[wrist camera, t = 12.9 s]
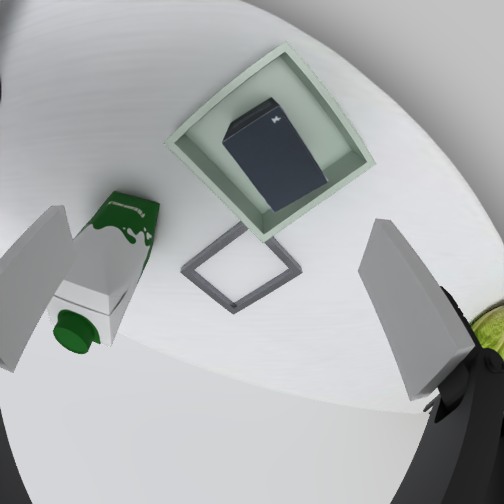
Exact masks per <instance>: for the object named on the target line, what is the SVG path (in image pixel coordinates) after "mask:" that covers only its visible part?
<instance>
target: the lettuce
mask: <svg viewBox="0 0 504 504" xmlns="http://www.w3.org/2000/svg"><path fill="white" fill-rule="evenodd" d="M471 328H472V330H473V331H474V333H475V335H476V337H477V338H478V340H479V342H480V344H481V346H482V347H483V348H491V349H494V350H495V351H496V352H498V353H499V354H500V356H501V357H502V358H503V360H504V305H503V306H500V307H498V308H495V309H493V310H491V311H489V312H488V313H486V314H484V315H483V316H482V317H480V318H479V319H478V320H477V321H475V322H474V323H473V325H472V326H471Z"/></svg>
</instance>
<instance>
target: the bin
mask: <svg viewBox="0 0 504 504" xmlns="http://www.w3.org/2000/svg"><path fill="white" fill-rule="evenodd" d="M271 97H272V98H273V99H274V100H275V101H276V102H277V103H278V104H279V105H280V106H281V107H282V108H283V110H284V111H285V113H286V115H287V116H288V118H289V119H290V121H291V122H292V124H293V126H294V127H295V129H296V130H297V132H298V133H299V135H300V136H301V138H302V139H303V141H304V143H305V144H306V146H307V147H308V149H309V151H310V152H311V154H312V155H313V157H314V159H315V160H316V162H317V163H318V165H319V167H320V168H321V170H322V171H323V173H324V174H325V176H326V177H327V179H328V183H327V184H325V185H323V186H321V187H319V188H317V189H315V190H314V191H312V192H310V193H308V194H307V195H305V196H303V197H301V198H300V199H298V200H296V201H294V202H293V203H291V204H289V205H288V206H286V207H284V208H282V209H281V210H279V211H277V212H275V213H274V212H273V211H272V210H271V208H270V207H269V205H268V204H267V203H266V201H265V200H264V198H263V197H262V196H261V194H260V193H259V192H258V190H257V189H256V188H255V186H254V185H253V184H252V182H251V181H250V180H249V178H248V177H247V176H246V174H245V173H244V172H243V170H242V169H241V168H240V166H239V165H238V164H237V162H236V161H235V160H234V158H233V157H232V156H231V155H230V153H229V152H228V151H227V150H226V148H225V147H224V146H223V144H222V141H223V138H224V136H225V134H226V132H227V129H228V127H229V125H230V123H231V122H232V121H234V120H235V119H237V118H238V117H240V116H242V115H243V114H245V113H246V112H248V111H249V110H251V109H253V108H254V107H256V106H257V105H259V104H261V103H262V102H264V101H265V100H267V99H269V98H271ZM164 144H165V145H166V146H167V147H168V148H169V149H170V150H171V151H172V152H173V153H174V154H175V155H176V156H177V157H178V158H179V159H180V160H181V161H182V162H183V163H184V164H185V165H186V166H187V167H188V168H189V169H190V170H191V171H192V172H193V173H194V174H195V175H196V176H197V177H198V178H199V179H200V180H201V181H202V182H203V183H204V184H205V185H206V186H207V187H208V188H209V189H210V190H211V191H212V192H213V193H214V194H215V195H216V196H217V197H218V198H219V199H220V200H221V201H222V202H223V203H224V204H225V205H226V206H227V207H228V208H229V209H230V210H231V211H232V212H233V213H234V214H235V215H236V216H237V217H238V218H239V219H240V220H241V221H242V222H243V223H244V224H245V225H246V226H247V227H248V228H249V229H250V231H251V232H252V233H253V234H254V235H255V236H256V237H257V238H258V239H259V240H260V241H261V242H262V243H264V242H265V241H267V240H268V239H269V238H271V237H272V236H274V235H275V234H277V233H278V232H279V231H281V230H282V229H284V228H285V227H287V226H288V225H290V224H291V223H292V222H294V221H295V220H297V219H298V218H300V217H301V216H302V215H304V214H305V213H307V212H308V211H310V210H311V209H312V208H314V207H315V206H317V205H318V204H320V203H321V202H322V201H324V200H325V199H327V198H328V197H330V196H331V195H332V194H334V193H335V192H337V191H338V190H340V189H341V188H343V187H344V186H345V185H347V184H348V183H350V182H351V181H353V180H354V179H355V178H357V177H358V176H360V175H361V174H363V173H364V172H365V171H367V170H368V169H370V168H371V167H373V166H374V165H376V162H375V161H374V159H373V157H372V155H371V154H370V152H369V151H368V149H367V147H366V146H365V144H364V142H363V141H362V139H361V138H360V136H359V135H358V133H357V131H356V130H355V128H354V127H353V125H352V124H351V122H350V121H349V119H348V118H347V117H346V115H345V114H344V112H343V111H342V109H341V108H340V107H339V105H338V104H337V102H336V101H335V100H334V98H333V97H332V96H331V94H330V93H329V92H328V90H327V89H326V88H325V86H324V85H323V84H322V82H321V81H320V80H319V79H318V77H317V76H316V75H315V74H314V72H313V71H312V70H311V69H310V67H309V66H308V65H307V64H306V63H305V61H304V60H303V59H302V58H301V57H300V56H299V54H298V53H297V52H296V51H295V50H294V49H293V48H292V47H291V45H290V44H289V43H288V42H287V41H285V42H284V43H282V44H281V45H280V46H278V47H277V48H275V49H274V50H272V51H271V52H269V53H268V54H267V55H265V56H264V57H262V58H261V59H260V60H258V61H257V62H256V63H254V64H253V65H251V66H250V67H249V68H248V69H246V70H245V71H244V72H242V73H241V74H240V75H238V76H237V77H236V78H235V79H233V80H232V81H231V82H230V83H228V84H227V85H226V86H225V87H224V88H222V89H221V90H220V91H219V92H218V93H216V94H215V95H214V96H213V97H212V98H211V99H209V100H208V101H207V102H206V103H205V104H204V105H203V106H202V107H200V108H199V109H198V110H197V111H196V112H195V113H194V114H193V115H192V116H191V117H189V118H188V119H187V120H186V121H185V122H184V123H183V124H182V125H181V126H180V127H179V128H178V129H177V130H176V131H175V132H174V133H173V134H172V135H171V136H170V137H169V138H168V139H167V140H166V141H165V142H164Z"/></svg>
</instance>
